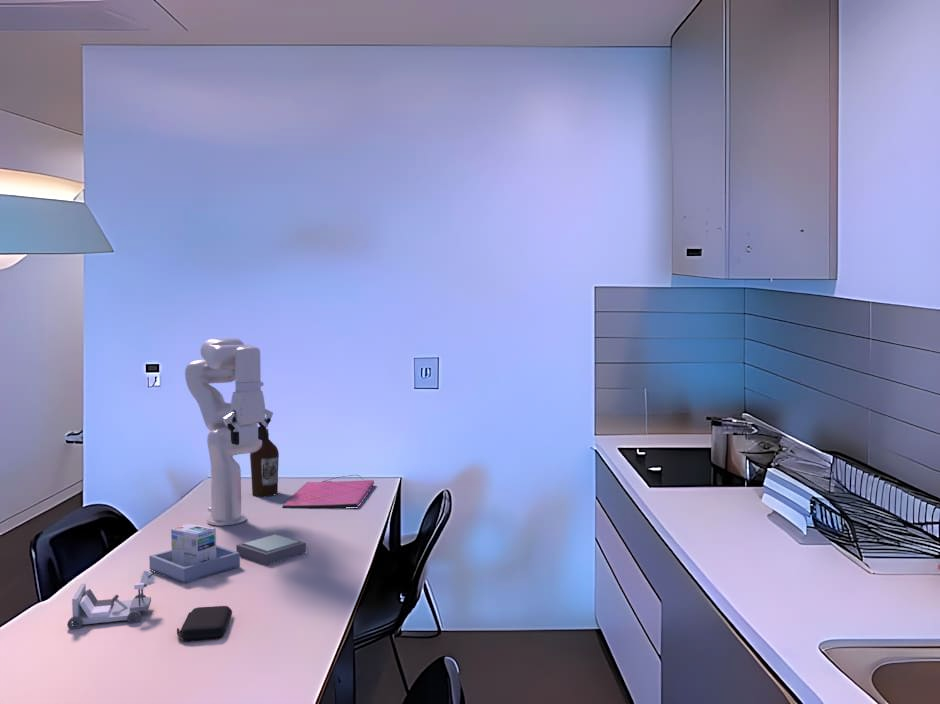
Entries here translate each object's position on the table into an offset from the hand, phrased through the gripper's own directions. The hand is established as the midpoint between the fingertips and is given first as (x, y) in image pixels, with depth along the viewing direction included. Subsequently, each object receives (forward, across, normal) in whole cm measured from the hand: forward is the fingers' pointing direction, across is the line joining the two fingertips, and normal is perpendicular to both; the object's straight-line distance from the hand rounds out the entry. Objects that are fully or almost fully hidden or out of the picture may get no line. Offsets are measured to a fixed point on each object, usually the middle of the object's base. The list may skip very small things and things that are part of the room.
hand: (248, 442), depth 241 cm
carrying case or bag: (+30, +47, +50) cm, 75 cm away
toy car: (+30, +56, +28) cm, 70 cm away
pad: (+28, +5, +18) cm, 34 cm away
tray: (+30, +27, +13) cm, 42 cm away
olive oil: (+31, -37, -43) cm, 65 cm away
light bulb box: (+30, +27, +13) cm, 42 cm away
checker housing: (+30, +6, +18) cm, 36 cm away
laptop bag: (+31, -52, -22) cm, 65 cm away
